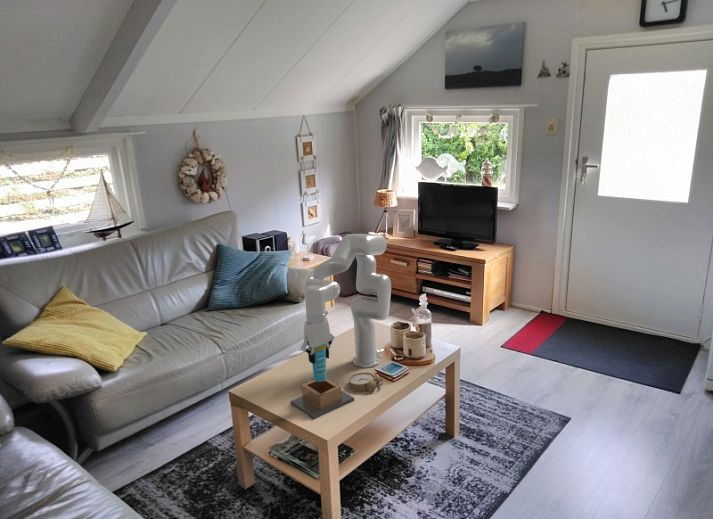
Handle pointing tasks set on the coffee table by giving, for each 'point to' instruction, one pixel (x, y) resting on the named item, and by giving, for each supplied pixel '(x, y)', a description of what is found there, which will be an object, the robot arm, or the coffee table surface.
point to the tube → (320, 363)
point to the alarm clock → (364, 381)
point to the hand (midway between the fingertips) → (319, 359)
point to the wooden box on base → (321, 398)
